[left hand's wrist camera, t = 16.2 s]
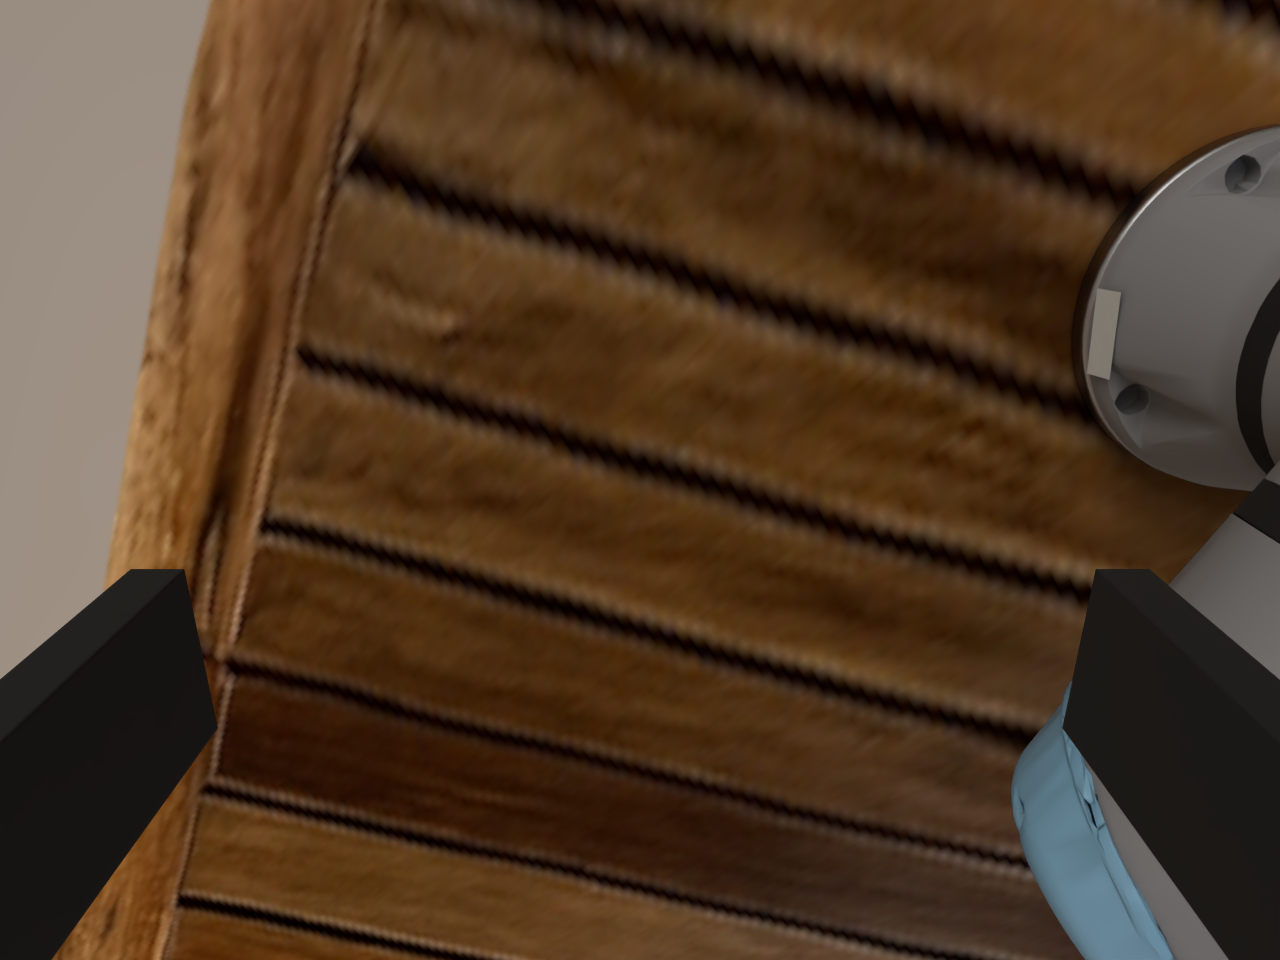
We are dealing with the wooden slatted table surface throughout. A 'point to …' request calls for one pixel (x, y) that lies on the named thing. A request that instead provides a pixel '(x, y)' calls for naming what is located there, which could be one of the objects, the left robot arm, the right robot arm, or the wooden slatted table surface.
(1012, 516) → the wooden slatted table surface
